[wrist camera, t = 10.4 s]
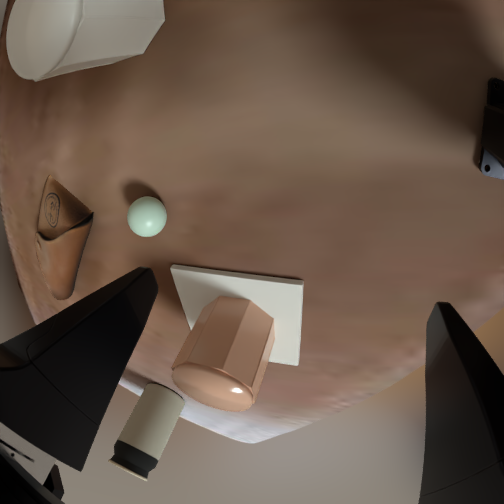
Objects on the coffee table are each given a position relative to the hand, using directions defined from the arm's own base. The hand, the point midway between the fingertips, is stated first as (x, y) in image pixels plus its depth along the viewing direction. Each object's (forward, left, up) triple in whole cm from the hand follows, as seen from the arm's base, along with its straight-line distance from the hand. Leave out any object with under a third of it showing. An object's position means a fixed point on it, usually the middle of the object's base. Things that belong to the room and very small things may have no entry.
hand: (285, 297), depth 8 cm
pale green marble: (+13, +4, -12) cm, 18 cm away
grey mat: (+7, +16, -12) cm, 21 cm away
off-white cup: (+13, -12, -12) cm, 21 cm away
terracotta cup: (+7, +16, -11) cm, 21 cm away
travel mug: (+25, +43, -12) cm, 51 cm away
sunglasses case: (+30, +9, -13) cm, 34 cm away
